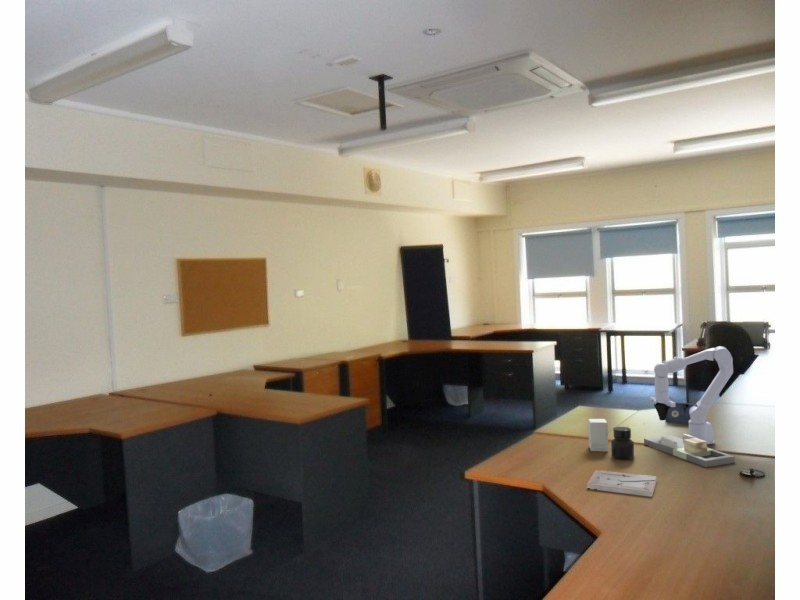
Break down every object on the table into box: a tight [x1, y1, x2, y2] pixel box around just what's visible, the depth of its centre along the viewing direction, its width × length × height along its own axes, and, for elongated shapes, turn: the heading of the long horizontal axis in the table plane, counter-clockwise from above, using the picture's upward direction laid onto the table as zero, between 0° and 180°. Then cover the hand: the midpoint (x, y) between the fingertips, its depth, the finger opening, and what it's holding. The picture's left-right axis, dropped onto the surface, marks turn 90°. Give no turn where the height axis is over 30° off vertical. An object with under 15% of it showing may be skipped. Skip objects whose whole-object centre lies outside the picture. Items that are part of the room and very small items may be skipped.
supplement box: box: [587, 418, 609, 452], centre depth 263 cm, size 7×7×13 cm
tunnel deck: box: [643, 433, 735, 468], centre depth 252 cm, size 14×36×6 cm, turn 16°
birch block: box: [684, 438, 708, 453], centre depth 247 cm, size 6×6×4 cm
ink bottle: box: [610, 426, 635, 461], centre depth 250 cm, size 10×9×12 cm
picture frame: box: [586, 469, 658, 498], centre depth 218 cm, size 16×2×22 cm
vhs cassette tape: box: [664, 402, 707, 425], centre depth 300 cm, size 18×3×10 cm, turn 58°
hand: (662, 420), depth 271 cm, fingers closed
